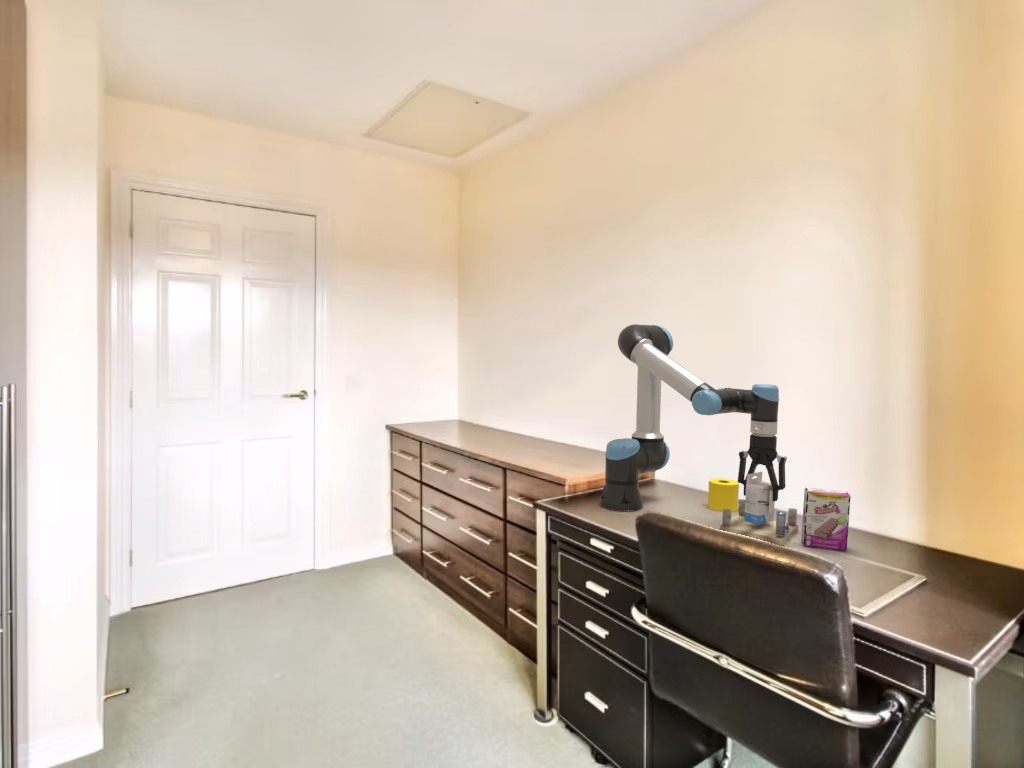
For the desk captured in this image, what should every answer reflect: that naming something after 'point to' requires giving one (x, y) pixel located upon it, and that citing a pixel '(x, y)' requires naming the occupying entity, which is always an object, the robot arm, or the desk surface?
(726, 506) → the yellow paper roll
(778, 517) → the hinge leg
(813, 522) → the candy bar box
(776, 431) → the robot arm
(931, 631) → the desk surface
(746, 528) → the peg board
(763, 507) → the ink box
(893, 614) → the desk surface
